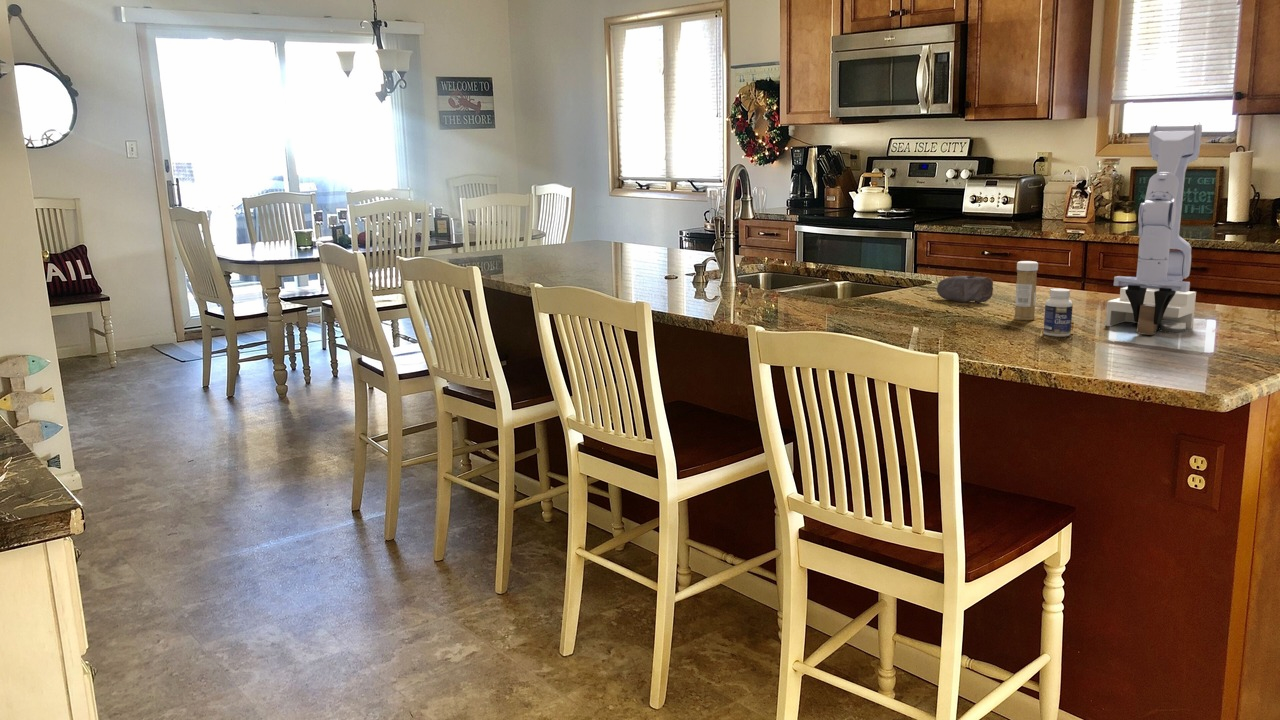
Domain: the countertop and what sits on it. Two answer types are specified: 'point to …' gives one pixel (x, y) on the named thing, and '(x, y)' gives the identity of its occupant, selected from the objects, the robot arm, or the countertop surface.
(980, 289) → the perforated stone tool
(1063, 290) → the pill bottle
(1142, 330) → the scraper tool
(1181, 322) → the steel puck
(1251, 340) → the countertop surface
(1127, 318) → the stepped stand
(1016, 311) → the sprinkles bottle
